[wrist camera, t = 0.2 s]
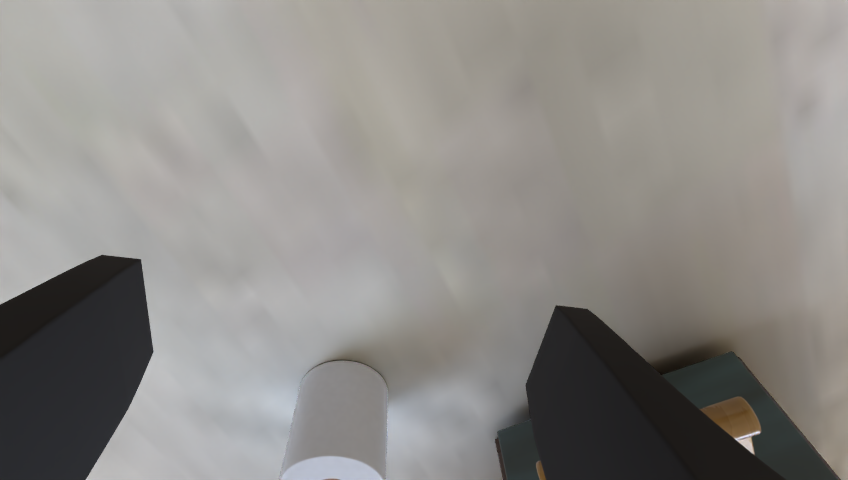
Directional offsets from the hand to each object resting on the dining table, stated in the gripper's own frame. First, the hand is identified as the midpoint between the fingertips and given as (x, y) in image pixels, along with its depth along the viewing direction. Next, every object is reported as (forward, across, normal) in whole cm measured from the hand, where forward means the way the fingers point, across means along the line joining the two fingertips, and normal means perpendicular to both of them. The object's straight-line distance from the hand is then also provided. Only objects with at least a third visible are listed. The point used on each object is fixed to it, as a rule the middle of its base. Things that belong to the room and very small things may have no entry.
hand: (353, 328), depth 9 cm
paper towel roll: (+10, 0, +13) cm, 16 cm away
